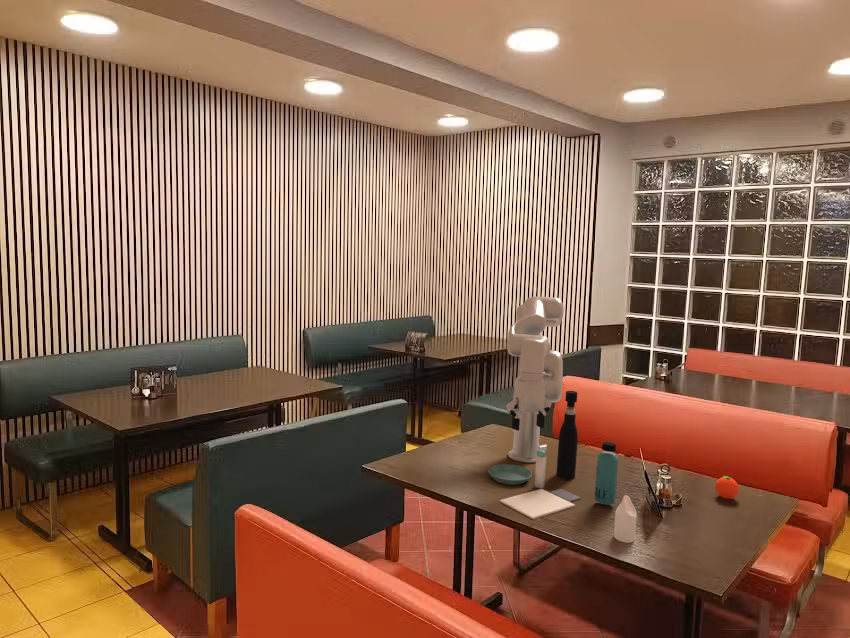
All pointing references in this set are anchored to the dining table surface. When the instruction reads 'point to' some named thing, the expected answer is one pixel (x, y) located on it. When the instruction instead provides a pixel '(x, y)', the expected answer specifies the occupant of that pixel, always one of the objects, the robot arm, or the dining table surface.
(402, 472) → the dining table surface
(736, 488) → the clementine
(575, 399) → the black bottle
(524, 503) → the pad
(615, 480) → the beverage bottle
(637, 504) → the dining table surface
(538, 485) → the marker
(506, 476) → the saucer
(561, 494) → the plate
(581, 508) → the dining table surface
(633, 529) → the white tapered cylinder
